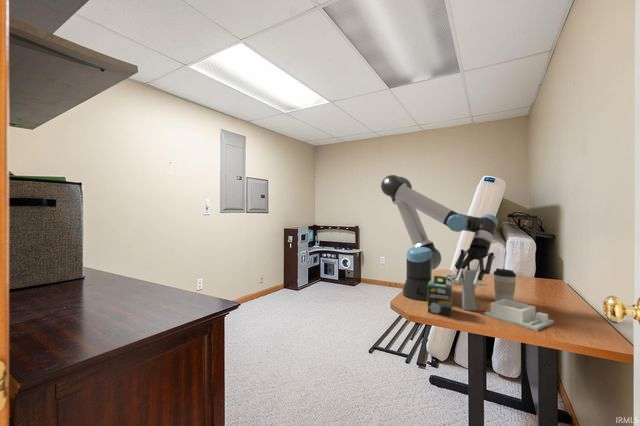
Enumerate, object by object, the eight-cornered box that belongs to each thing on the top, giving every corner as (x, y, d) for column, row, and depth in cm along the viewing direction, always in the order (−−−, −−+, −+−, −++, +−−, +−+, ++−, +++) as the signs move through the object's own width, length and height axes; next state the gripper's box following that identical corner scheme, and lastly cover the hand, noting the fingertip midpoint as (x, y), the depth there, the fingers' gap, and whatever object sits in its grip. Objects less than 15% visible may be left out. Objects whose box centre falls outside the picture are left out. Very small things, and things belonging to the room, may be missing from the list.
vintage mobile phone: (477, 311, 119) (478, 251, 119) (464, 310, 120) (465, 251, 120) (474, 308, 122) (475, 250, 122) (461, 307, 123) (462, 249, 123)
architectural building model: (484, 314, 115) (484, 302, 115) (502, 309, 122) (502, 297, 122) (537, 330, 99) (537, 316, 99) (553, 323, 107) (554, 309, 107)
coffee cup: (518, 302, 132) (519, 269, 132) (512, 306, 126) (512, 272, 126) (496, 297, 139) (497, 266, 139) (489, 301, 133) (490, 269, 133)
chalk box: (451, 309, 121) (452, 274, 121) (451, 316, 112) (452, 279, 112) (428, 306, 125) (429, 272, 125) (427, 312, 116) (427, 276, 116)
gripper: (507, 250, 124) (493, 294, 113) (461, 245, 138) (446, 284, 128) (503, 238, 121) (489, 283, 110) (457, 235, 135) (440, 274, 124)
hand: (466, 283), depth 119 cm, fingers closed on vintage mobile phone, 6 cm apart
